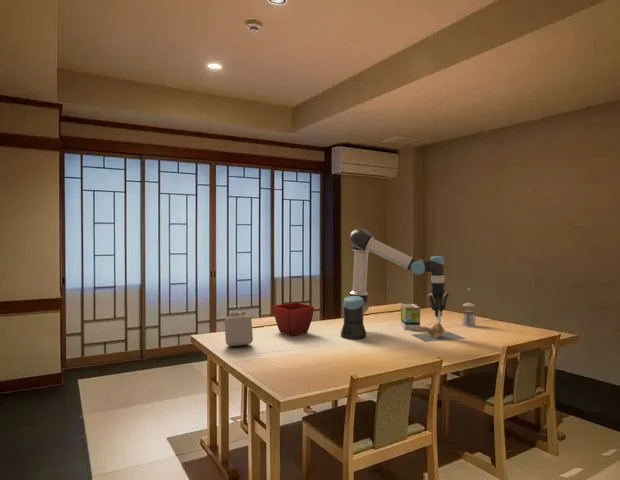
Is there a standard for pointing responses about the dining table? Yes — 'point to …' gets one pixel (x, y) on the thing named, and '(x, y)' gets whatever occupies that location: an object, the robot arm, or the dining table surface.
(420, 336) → the slate mat
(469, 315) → the french press
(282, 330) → the plant pot
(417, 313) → the tea box
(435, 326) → the wooden block
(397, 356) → the dining table surface
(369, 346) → the dining table surface
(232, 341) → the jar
